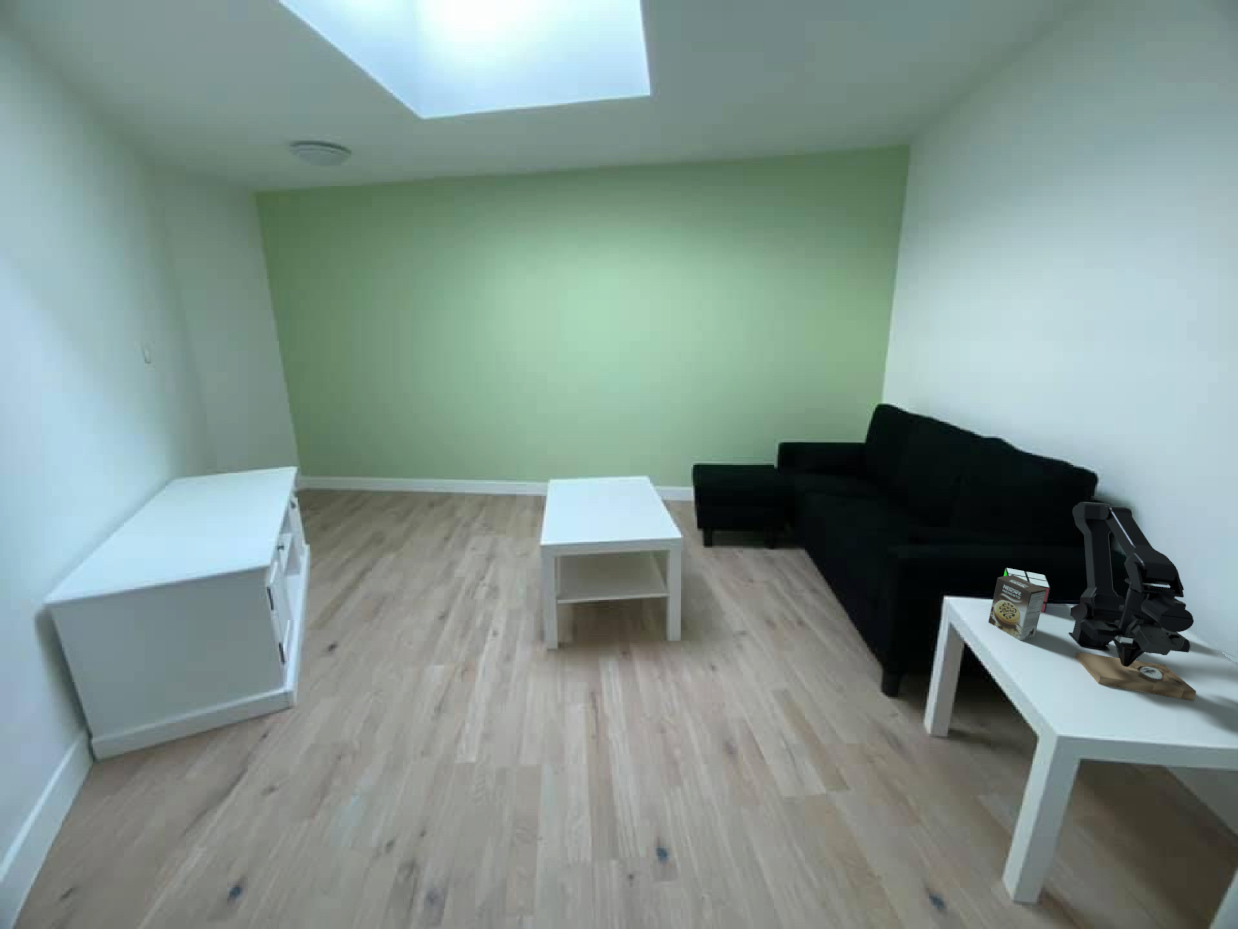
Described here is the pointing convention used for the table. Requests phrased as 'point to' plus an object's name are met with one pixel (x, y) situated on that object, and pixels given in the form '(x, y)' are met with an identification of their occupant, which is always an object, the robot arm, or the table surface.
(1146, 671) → the ball
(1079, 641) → the robot arm
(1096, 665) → the tan hexagonal hole board
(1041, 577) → the puzzle cube
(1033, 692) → the table surface
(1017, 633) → the coffee box
